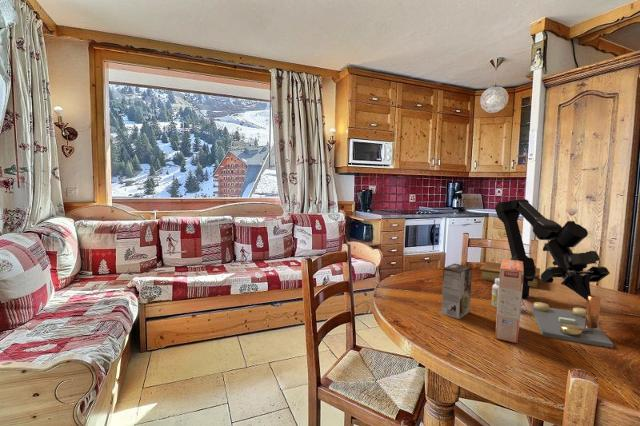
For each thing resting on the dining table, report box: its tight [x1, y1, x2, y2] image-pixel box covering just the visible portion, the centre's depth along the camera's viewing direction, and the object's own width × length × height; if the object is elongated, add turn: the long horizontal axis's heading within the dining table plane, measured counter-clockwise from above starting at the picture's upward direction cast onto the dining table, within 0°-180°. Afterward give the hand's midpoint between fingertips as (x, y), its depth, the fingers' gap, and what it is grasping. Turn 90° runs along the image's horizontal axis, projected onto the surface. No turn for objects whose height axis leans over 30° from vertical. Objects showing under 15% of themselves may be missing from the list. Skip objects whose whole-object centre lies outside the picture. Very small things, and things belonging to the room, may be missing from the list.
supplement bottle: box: [491, 278, 499, 308], centre depth 120 cm, size 5×5×10 cm
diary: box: [479, 261, 541, 290], centre depth 154 cm, size 23×19×6 cm
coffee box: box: [441, 263, 473, 320], centre depth 112 cm, size 9×6×16 cm
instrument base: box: [530, 301, 614, 349], centre depth 103 cm, size 16×24×3 cm, turn 154°
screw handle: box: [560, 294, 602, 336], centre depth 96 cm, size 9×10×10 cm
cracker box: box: [494, 259, 524, 344], centre depth 97 cm, size 14×6×21 cm, turn 148°
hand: (589, 299), depth 98 cm, fingers closed, pressing on screw handle
